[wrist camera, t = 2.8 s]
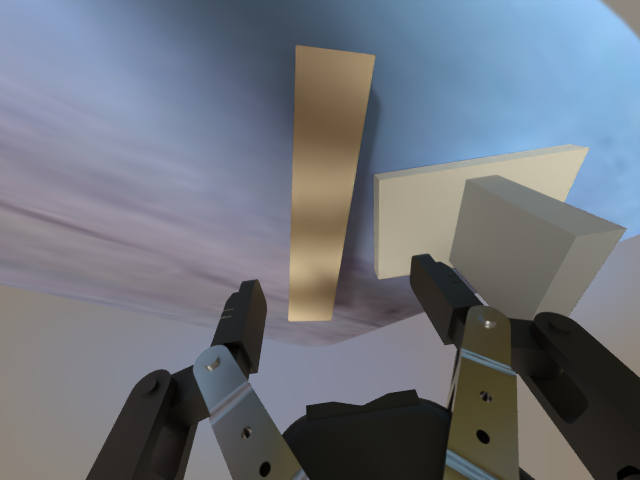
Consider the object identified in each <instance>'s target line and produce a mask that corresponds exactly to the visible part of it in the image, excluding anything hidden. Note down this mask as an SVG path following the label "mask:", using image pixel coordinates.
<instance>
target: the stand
mask: <svg viewBox="0 0 640 480" xmlns="http://www.w3.org/2000/svg"><path fill="white" fill-rule="evenodd" d="M588 150H589V148H588V147H583V146H578V145H572V144H567V145H560V146H554V147H547V148H541V149H534V150H528V151H521V152H515V153H508V154H502V155H495V156H489V157H482V158H476V159H470V160H463V161H457V162H450V163H444V164H437V165H431V166H424V167H418V168H411V169H405V170H398V171H392V172H385V173H379V174H374V271H375V273H376V275H377V278H378V280H379V279H386V278H392V277H399V276H405V275H410V269H411V258H412V256H413V255H420V254H426V253H428V254H430V255H431V257H432V258H433V259H434V260H435V262H440V261H441V262H442V263H444V264H446V265H447V266H449V267H451V268H456V269H457V270H458V272H459V273H460V274H461V275H462V276H463V277H464V278H465V279H466V280H467V281H468V283H469V284H470V285H471V286H472V287H473V288H474V289H475V290H476V291H477V293H478V294H479V295H480V296H481V297H482V298H483V299H484V300H485V301H486V302H487V304H488V305H489V306H490V307H492V308H495V309H497V310H499V311H500V312H502V313H503V314H504V315H505V316H506V317H507V318H514V319H523V320H532V321H533V319H534V317H535V316H536V315H537V314H538V313H540V312H553V313H558V314H561V315H564V316H566V317H568V316H569V315H570V313H571V312H572V310H573V309H574V307H575V306H576V304H577V303H578V301H579V300H580V298H581V297H582V295H583V294H584V292H585V291H586V289H587V288H588V286H589V285H590V283H591V282H592V280H593V279H594V277H595V276H596V274H597V273H598V271H599V270H600V268H601V267H602V265H603V264H604V262H605V261H606V259H607V258H608V256H609V255H610V253H611V252H612V250H613V249H614V247H615V246H616V244H617V243H618V241H619V240H620V238H621V237H622V235H623V234H624V232H625V231H626V229H627V228H624V227H622V226H620V225H617V224H615V223H612V222H610V221H608V220H605V219H603V218H600V217H598V216H595V215H593V214H591V213H588V212H586V211H583V210H581V209H579V208H576V207H574V206H571V205H569V204H566V203H564V201H565V199H566V197H567V195H568V193H569V190H570V188H571V186H572V184H573V182H574V180H575V178H576V175H577V173H578V171H579V169H580V167H581V165H582V163H583V160H584V158H585V156H586V154H587V152H588Z"/></svg>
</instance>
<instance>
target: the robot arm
mask: <svg viewBox="0 0 640 480" xmlns="http://www.w3.org/2000/svg"><path fill="white" fill-rule="evenodd" d="M410 284H411V287H412V290H413V292H414V293H415V295H416V297H417V298H418V300H419V302H420V304H421V305H422V307H423V309H424V311H425V312H426V314H427V316H428V317H429V319H430V321H431V322H432V324H433V326H434V328H435V329H436V331H437V333H438V335H439V336H440V338H441V340H442V341H443V343H444V345H449V344H454V345H455V346H456V348H457V352H456V357H455V362H454V368H453V374H452V379H451V384H450V390H449V394H448V399H447V404H446V408H445V407H443V406H441V405H439V404H437V403H435V402H432V401H430V400H426V399H422V398H418V395H417V393H416V390H415V389H413V390H407V391H400V392H394V393H388V394H386V395H384V396H382V397H380V398H378V399H375V400H373V401H371V402H370V403H367V404H365V405H362V406H361V405H352V404H346V403H339V402H328V403H320V404H314V405H307V406H306V415H304V416H303V417H301V418H299V419H298V420H296V421H295V422H294V423H293V424H291V425H290V426H289V428H287V430H286V431H285V432H284V433H283V434H282V435H281V433H280V432H279V430H278V428H277V427H276V425H275V424H274V422H273V420H272V419H271V417H270V416H269V414H268V412H267V411H266V409H265V407H264V406H263V404H262V403H261V401H260V399H259V398H258V396H257V394H256V393H255V391H254V390H253V388H252V387H251V385H250V383H248V379H249V374H253V373H258V366H259V360H260V353H261V346H262V340H263V333H264V327H265V320H266V313H267V304H266V300H265V297H264V294H263V291H262V289H261V286H260V283H259V281H258V280H257V279H256V280H249V281H243V282H242V283H241V286H240V289H239V292H237V293H233V294H232V295H231V296H230V298H229V299H228V300H227V301H226V304H225V307H224V312H223V313H222V315H221V319H220V321H219V324H218V327H217V329H216V332H215V335H214V338H213V341H212V344H211V346H210V348H208V349H207V350H205V351H204V352H203V353H202V354H201V355H200V356H199V357H198V358H197V360H196V361H195V363H194V365H192V366H190V367H188V368H185V369H183V370H181V371H179V372H177V373H175V374H172V375H171V374H170V373H169V372H168V371H167V370H163V369H161V370H156V371H154V372H152V373H149V374H148V375H146V376H145V377H144V378H142V379H141V380H140V381H139V382H138V383H137V384H136V385H135V387H134V388H133V390H132V391H131V393H130V395H129V397H128V399H127V401H126V403H125V405H124V407H123V408H122V410H121V412H120V414H119V416H118V418H117V420H116V422H115V424H114V426H113V428H112V430H111V432H110V434H109V436H108V438H107V439H106V442H105V443H104V445H103V447H102V449H101V451H100V453H99V455H98V457H97V459H96V461H95V463H94V465H93V467H92V468H91V470H90V472H89V474H88V476H87V478H86V480H183V479H184V475H185V471H186V467H187V464H188V460H189V456H190V452H191V448H192V444H193V440H194V436H195V433H196V429H197V425H198V422H199V421H201V420H203V419H205V418H207V417H209V421H210V424H211V426H212V429H213V431H214V434H215V436H216V439H217V441H218V444H219V446H220V449H221V451H222V454H223V456H224V459H225V461H226V464H227V466H228V469H229V471H230V474H231V476H232V479H233V480H535V479H534V478H532V477H531V476H530V475H529V474H528V473H526V472H525V471H524V470H523V469H521V468H520V467H519V453H518V415H517V414H518V411H517V376H516V374H519V375H520V376H521V378H522V379H523V381H524V382H525V384H526V385H527V386H528V388H529V389H530V391H531V392H532V393H533V395H534V396H535V397H536V399H537V400H538V402H539V403H540V404H541V406H542V407H543V409H544V410H545V411H546V413H547V414H548V416H549V417H550V418H551V420H552V421H553V422H554V424H555V425H556V426H557V428H558V429H559V431H560V432H561V434H562V435H563V436H564V438H565V439H566V440H567V442H568V443H569V445H570V446H571V447H572V449H573V450H574V451H575V453H576V454H577V456H578V457H579V459H580V460H581V461H582V463H583V464H584V465H585V467H586V468H587V470H588V471H589V472H590V474H591V475H592V477H593V478H594V479H595V480H640V378H639V377H638V376H637V375H636V374H635V373H634V372H633V371H631V370H630V369H629V368H628V367H627V366H626V365H624V364H623V363H622V362H621V361H620V360H619V359H618V358H617V357H615V356H614V355H613V354H612V353H611V352H610V351H609V350H608V349H606V348H605V347H604V346H603V345H602V344H601V343H600V342H598V341H597V340H596V339H595V338H594V337H593V336H591V335H590V334H589V333H588V332H587V331H586V330H585V329H584V328H582V327H581V326H580V325H579V324H578V323H576V322H575V321H574V320H572V319H570V318H568V317H566V316H564V315H561V314H558V313H553V312H540V313H538V314H537V315H536V316H535V317H534V319H533V321H532V320H523V319H514V318H507V317H506V316H505V315H504V314H503V313H502V312H500V311H499V310H497V309H495V308H492V307H489V306H484V305H483V304H482V303H481V302H480V300H479V299H478V298H477V297H476V296H475V295H474V293H473V292H472V291H471V290H470V289H469V288H468V287H467V286H466V284H465V283H464V282H462V280H461V279H460V278H459V276H457V274H456V273H455V272H454V271H453V270H452V269H451V267H449V266H447V265H446V264H444V263H442V262H441V261H440V262H435V260H434V259H433V258H432V257H431V255H430V254H428V253H426V254H420V255H413V256H412V258H411V269H410Z"/></svg>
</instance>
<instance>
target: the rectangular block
mask: <svg viewBox="0 0 640 480" xmlns="http://www.w3.org/2000/svg"><path fill="white" fill-rule="evenodd" d="M375 56H376V55H371V54H363V53H356V52H348V51H340V50H332V49H324V48H316V47H309V46H301V45H296V60H295V97H294V134H293V172H292V209H291V246H290V283H289V320H288V321H331V318H332V312H333V306H334V300H335V294H336V288H337V282H338V276H339V270H340V264H341V258H342V252H343V247H344V241H345V235H346V229H347V223H348V217H349V211H350V205H351V199H352V193H353V187H354V181H355V175H356V169H357V163H358V157H359V151H360V145H361V139H362V134H363V128H364V122H365V116H366V110H367V104H368V98H369V92H370V86H371V80H372V74H373V68H374V62H375Z"/></svg>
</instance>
